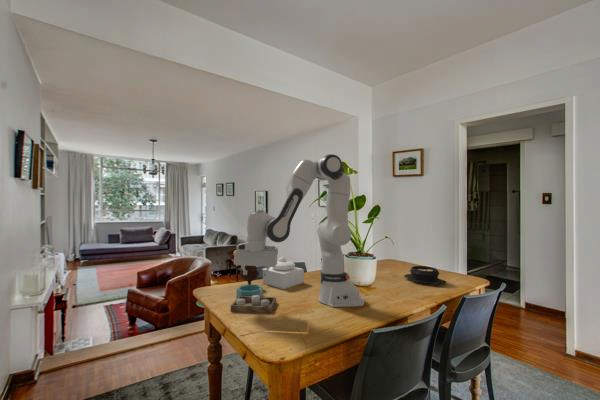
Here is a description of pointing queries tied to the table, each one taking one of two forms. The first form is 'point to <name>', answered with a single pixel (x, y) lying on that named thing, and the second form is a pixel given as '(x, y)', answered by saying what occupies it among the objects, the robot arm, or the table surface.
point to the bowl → (249, 290)
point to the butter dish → (284, 275)
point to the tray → (250, 308)
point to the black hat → (425, 275)
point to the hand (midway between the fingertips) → (255, 275)
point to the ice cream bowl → (250, 273)
